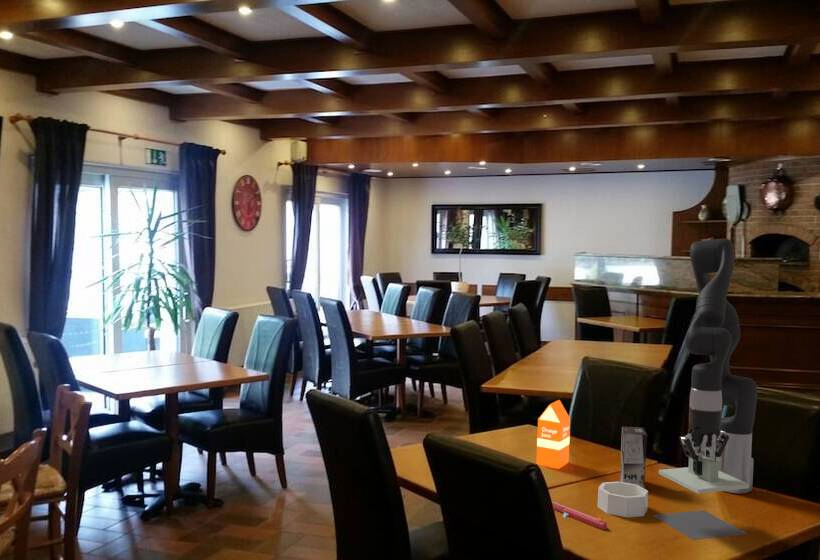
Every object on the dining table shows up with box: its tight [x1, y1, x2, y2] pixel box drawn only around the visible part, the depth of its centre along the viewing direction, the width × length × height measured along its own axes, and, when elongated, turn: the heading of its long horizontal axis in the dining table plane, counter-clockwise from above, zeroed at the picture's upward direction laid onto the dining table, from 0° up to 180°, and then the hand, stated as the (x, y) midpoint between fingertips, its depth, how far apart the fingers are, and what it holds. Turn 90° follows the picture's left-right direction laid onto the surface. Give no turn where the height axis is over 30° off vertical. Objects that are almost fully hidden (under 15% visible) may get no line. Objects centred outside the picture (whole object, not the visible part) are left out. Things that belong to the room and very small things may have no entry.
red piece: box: [552, 501, 608, 530], centre depth 188 cm, size 24×2×5 cm
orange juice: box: [535, 399, 571, 470], centre depth 231 cm, size 8×9×20 cm
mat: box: [652, 509, 748, 541], centre depth 182 cm, size 16×16×1 cm
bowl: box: [597, 481, 649, 518], centre depth 192 cm, size 12×12×6 cm
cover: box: [658, 453, 749, 495], centre depth 182 cm, size 15×15×6 cm
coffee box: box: [619, 426, 648, 489], centre depth 213 cm, size 9×6×16 cm
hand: (702, 474), depth 182 cm, fingers closed on cover, 2 cm apart
